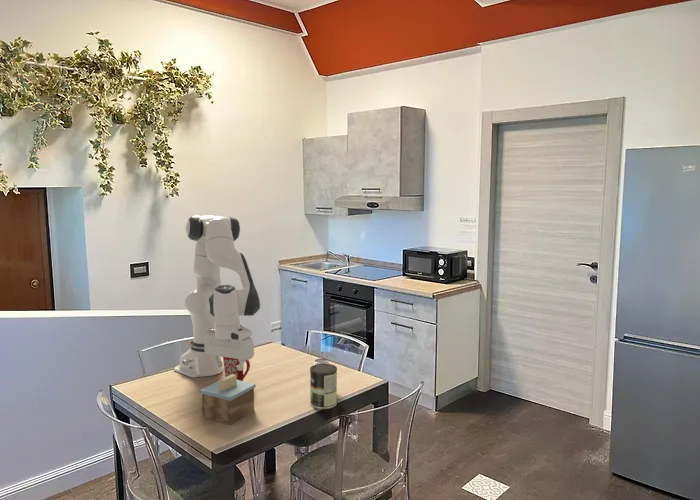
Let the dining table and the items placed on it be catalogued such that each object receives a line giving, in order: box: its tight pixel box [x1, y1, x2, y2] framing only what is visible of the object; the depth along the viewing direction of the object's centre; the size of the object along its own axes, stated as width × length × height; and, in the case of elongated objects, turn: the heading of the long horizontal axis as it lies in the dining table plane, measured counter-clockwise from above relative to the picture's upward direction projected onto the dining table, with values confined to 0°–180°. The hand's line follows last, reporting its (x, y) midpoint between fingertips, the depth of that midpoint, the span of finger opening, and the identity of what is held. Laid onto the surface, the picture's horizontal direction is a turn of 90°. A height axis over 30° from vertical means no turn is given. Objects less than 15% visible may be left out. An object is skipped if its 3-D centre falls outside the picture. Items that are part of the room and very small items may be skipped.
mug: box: [222, 357, 251, 381], centre depth 220 cm, size 13×9×14 cm
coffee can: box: [309, 363, 338, 410], centre depth 200 cm, size 10×10×14 cm
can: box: [313, 358, 330, 365], centre depth 215 cm, size 6×6×12 cm
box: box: [201, 388, 255, 426], centre depth 191 cm, size 13×13×9 cm
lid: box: [199, 374, 257, 401], centre depth 191 cm, size 14×14×6 cm
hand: (229, 368), depth 190 cm, fingers open, 8 cm apart
